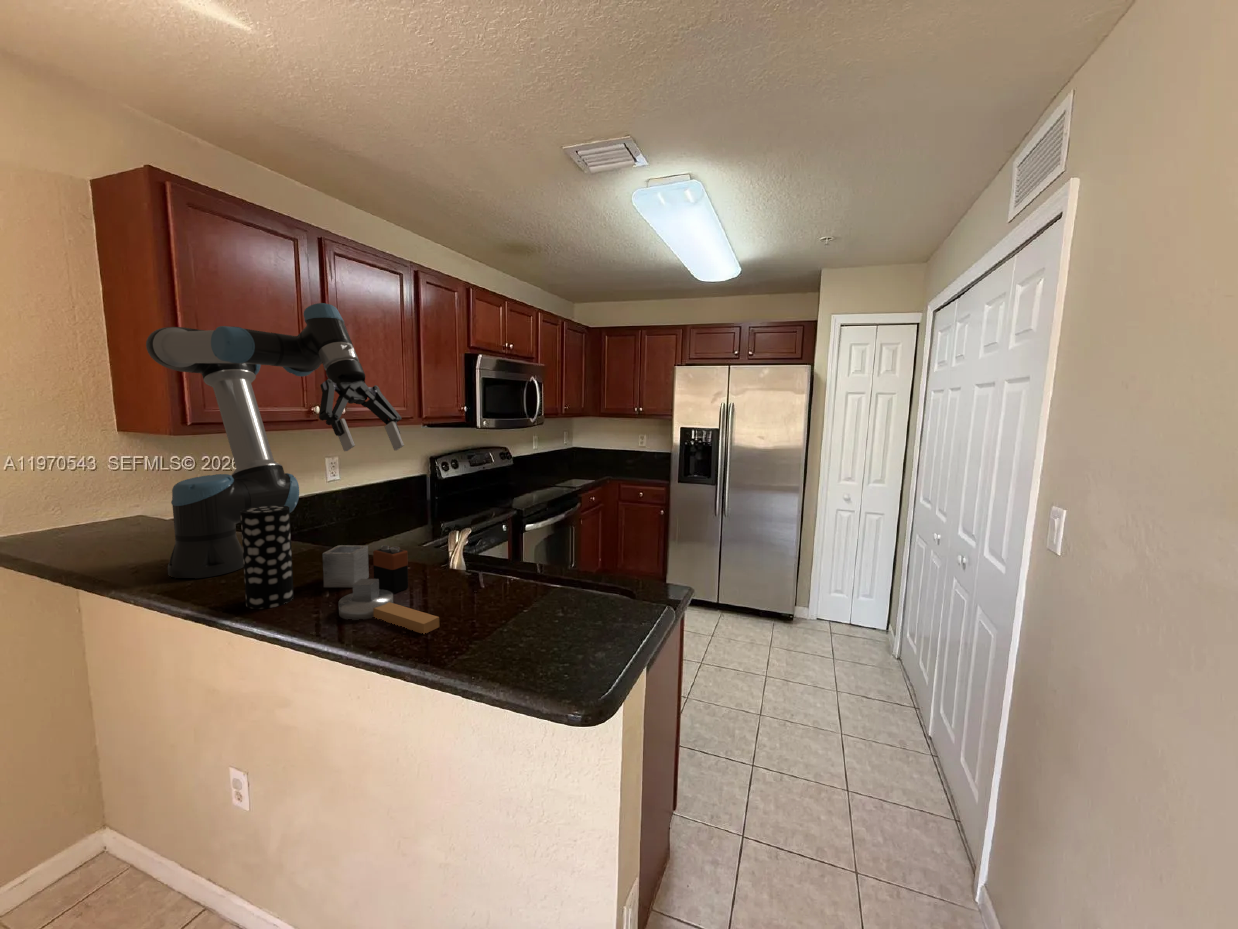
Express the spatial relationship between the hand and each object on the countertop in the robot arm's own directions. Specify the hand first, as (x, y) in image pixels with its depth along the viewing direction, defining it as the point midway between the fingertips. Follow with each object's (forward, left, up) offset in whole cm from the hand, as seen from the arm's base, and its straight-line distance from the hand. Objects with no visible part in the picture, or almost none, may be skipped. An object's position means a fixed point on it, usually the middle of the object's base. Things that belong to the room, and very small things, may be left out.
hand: (375, 448), depth 111 cm
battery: (+3, -1, -33) cm, 33 cm away
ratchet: (+9, -17, -33) cm, 38 cm away
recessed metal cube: (-9, +3, -32) cm, 34 cm away
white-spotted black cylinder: (-19, -9, -33) cm, 39 cm away
